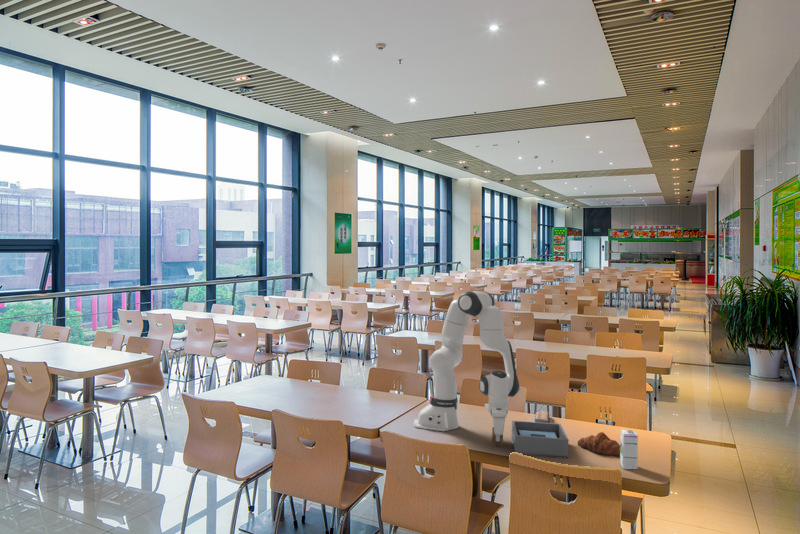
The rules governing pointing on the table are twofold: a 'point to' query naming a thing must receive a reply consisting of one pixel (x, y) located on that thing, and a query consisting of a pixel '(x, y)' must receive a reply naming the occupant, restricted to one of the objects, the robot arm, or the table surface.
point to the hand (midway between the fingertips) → (497, 438)
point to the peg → (494, 442)
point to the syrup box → (629, 449)
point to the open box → (539, 439)
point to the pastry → (600, 444)
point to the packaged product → (542, 417)
